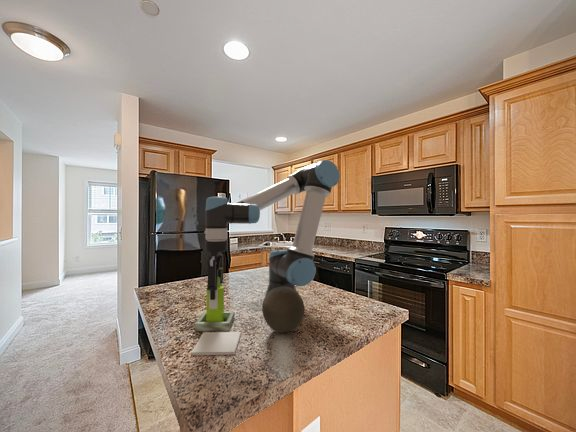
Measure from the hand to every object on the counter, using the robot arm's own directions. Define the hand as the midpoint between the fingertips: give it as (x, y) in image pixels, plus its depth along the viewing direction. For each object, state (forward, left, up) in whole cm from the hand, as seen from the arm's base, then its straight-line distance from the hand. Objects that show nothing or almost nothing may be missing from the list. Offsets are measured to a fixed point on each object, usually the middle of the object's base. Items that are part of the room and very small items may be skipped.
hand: (215, 304), depth 89 cm
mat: (-4, +14, -7) cm, 16 cm away
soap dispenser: (0, 0, -7) cm, 7 cm away
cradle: (0, 0, -7) cm, 7 cm away
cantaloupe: (-24, +7, -7) cm, 26 cm away
